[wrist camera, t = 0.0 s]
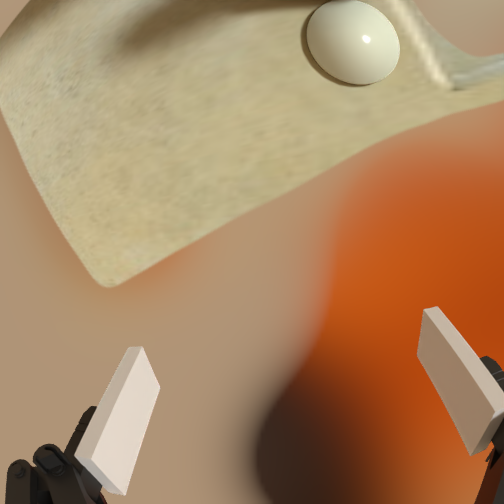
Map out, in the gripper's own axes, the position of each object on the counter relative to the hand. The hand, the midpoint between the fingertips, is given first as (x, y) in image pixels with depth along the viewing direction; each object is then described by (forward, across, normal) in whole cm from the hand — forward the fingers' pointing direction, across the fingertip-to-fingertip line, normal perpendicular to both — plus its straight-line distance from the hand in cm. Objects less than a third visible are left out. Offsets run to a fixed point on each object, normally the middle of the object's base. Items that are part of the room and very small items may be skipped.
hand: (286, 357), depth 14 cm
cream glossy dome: (+28, +14, +20) cm, 37 cm away
